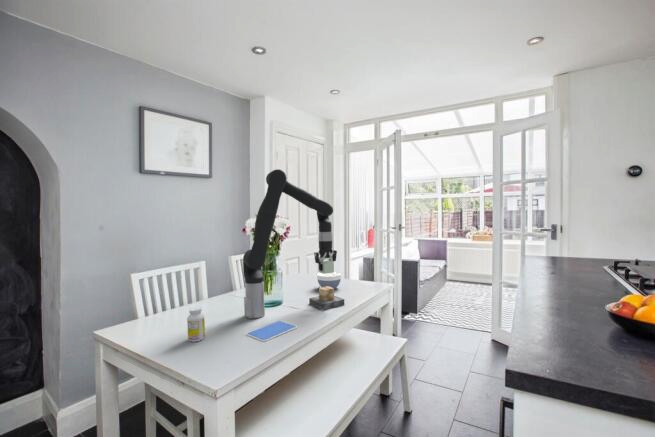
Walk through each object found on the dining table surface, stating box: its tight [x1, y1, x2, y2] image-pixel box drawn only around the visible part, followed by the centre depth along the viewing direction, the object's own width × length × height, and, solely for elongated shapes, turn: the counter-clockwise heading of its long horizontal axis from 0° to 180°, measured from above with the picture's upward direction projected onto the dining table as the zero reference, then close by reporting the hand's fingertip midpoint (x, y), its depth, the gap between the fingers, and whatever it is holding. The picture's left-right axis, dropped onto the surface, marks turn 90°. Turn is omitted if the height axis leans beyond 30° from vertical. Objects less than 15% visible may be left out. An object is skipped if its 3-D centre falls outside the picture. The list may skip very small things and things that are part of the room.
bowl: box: [316, 271, 342, 290], centre depth 213 cm, size 16×16×10 cm
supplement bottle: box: [186, 306, 206, 343], centre depth 135 cm, size 7×7×13 cm
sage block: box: [317, 259, 335, 274], centre depth 178 cm, size 6×6×6 cm
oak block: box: [318, 286, 335, 301], centre depth 179 cm, size 6×6×6 cm
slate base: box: [309, 295, 345, 310], centre depth 179 cm, size 14×14×3 cm
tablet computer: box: [246, 320, 298, 343], centre depth 142 cm, size 19×13×1 cm, turn 140°
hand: (326, 269), depth 178 cm, fingers closed on sage block, 6 cm apart
